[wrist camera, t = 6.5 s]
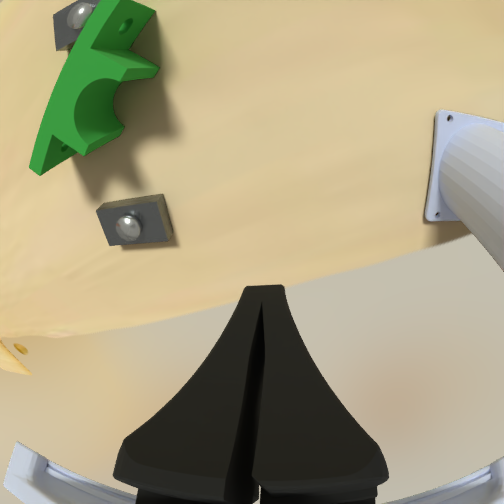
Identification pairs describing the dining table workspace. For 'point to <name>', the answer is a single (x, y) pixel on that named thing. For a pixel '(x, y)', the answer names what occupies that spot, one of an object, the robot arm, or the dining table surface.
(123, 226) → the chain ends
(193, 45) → the dining table surface
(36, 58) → the dining table surface
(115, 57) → the pipe clamp
